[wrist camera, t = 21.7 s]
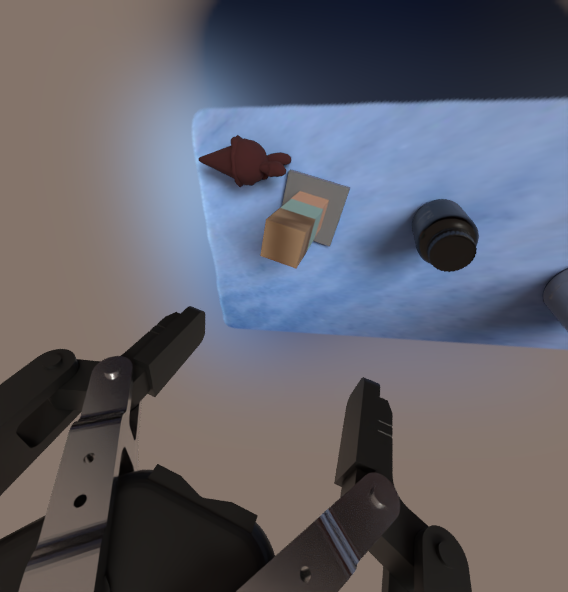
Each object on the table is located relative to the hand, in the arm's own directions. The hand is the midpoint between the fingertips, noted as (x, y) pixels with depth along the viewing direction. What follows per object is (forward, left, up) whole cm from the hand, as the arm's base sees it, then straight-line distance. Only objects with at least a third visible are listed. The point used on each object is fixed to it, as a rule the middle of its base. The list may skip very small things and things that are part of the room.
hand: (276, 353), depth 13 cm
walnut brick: (+6, +5, -25) cm, 26 cm away
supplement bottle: (-13, +1, -36) cm, 39 cm away
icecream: (+18, 0, -36) cm, 41 cm away
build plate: (+6, +5, -36) cm, 37 cm away
